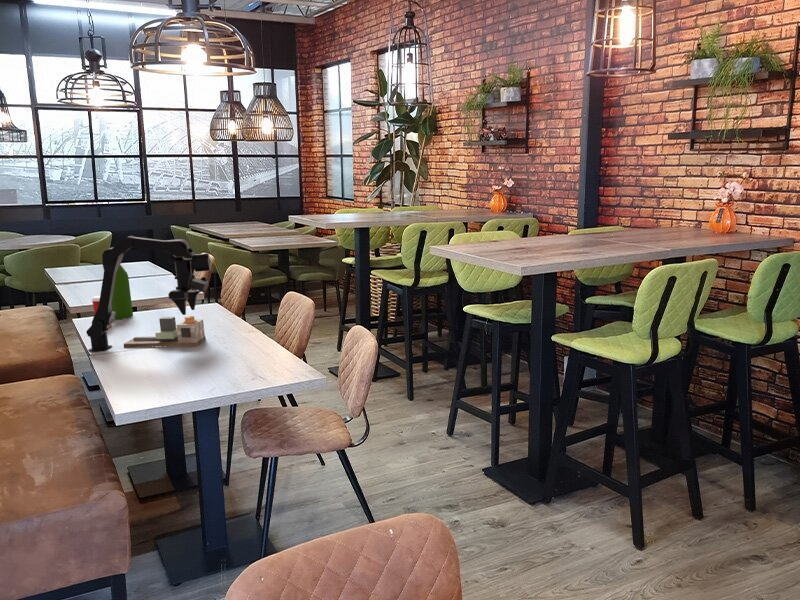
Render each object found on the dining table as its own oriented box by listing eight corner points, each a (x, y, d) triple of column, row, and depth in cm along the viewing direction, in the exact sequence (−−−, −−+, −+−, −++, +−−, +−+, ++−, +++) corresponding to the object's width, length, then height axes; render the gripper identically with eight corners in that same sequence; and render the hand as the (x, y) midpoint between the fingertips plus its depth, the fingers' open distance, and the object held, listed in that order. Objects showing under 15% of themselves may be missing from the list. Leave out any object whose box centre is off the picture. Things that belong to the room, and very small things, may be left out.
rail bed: (195, 346, 257) (193, 325, 256) (123, 347, 261) (121, 326, 259) (205, 339, 267) (203, 319, 265) (136, 340, 270) (133, 320, 269)
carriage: (173, 338, 259) (171, 320, 257) (156, 338, 260) (153, 320, 258) (182, 333, 267) (180, 315, 265) (165, 333, 267) (163, 315, 266)
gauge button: (193, 330, 260) (192, 318, 259) (184, 330, 260) (183, 318, 259) (197, 328, 263) (195, 316, 262) (188, 328, 264) (186, 316, 262)
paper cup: (117, 325, 299) (113, 294, 296) (108, 329, 291) (104, 298, 289) (100, 325, 300) (96, 294, 297) (91, 329, 292) (87, 298, 289)
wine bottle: (137, 315, 318) (129, 247, 312) (124, 319, 310) (116, 249, 303) (121, 314, 321) (112, 247, 314) (108, 319, 312) (99, 249, 306)
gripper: (194, 276, 247) (199, 317, 250) (213, 267, 265) (217, 306, 268) (165, 277, 248) (170, 318, 252) (186, 268, 267) (190, 307, 270)
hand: (188, 312), depth 260 cm, fingers open, 8 cm apart
